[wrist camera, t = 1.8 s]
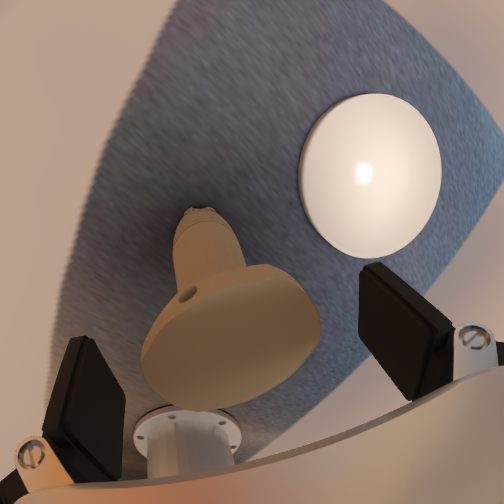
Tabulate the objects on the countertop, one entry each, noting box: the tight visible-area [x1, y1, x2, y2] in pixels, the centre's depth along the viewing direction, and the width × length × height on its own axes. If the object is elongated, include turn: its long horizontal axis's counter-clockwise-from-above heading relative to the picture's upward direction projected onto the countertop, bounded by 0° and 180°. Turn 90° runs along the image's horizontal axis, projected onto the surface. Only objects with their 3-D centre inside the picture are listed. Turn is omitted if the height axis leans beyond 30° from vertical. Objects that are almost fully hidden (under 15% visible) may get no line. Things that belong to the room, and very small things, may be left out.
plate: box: [298, 94, 441, 258], centre depth 25 cm, size 14×14×2 cm
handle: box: [140, 207, 321, 412], centre depth 17 cm, size 5×6×15 cm
